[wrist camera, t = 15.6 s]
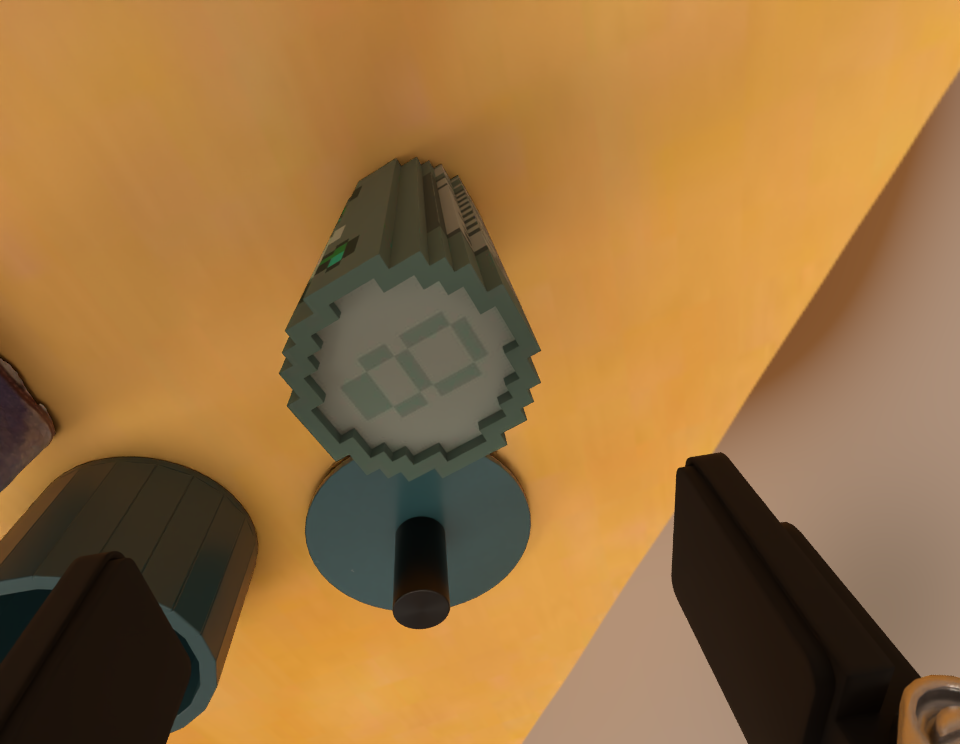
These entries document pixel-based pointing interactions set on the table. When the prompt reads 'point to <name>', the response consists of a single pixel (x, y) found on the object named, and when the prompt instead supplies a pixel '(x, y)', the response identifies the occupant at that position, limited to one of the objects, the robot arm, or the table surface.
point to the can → (410, 331)
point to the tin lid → (418, 536)
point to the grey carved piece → (19, 426)
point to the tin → (140, 554)
